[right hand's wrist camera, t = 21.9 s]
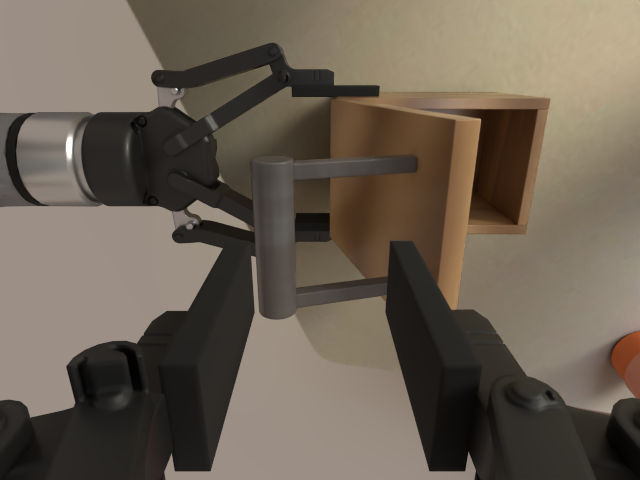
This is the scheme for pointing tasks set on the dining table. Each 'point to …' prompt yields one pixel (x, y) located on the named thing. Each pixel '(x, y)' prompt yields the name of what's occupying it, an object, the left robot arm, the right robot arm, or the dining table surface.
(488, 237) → the dining table surface
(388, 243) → the lid
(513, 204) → the chest
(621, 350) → the cup with straw
